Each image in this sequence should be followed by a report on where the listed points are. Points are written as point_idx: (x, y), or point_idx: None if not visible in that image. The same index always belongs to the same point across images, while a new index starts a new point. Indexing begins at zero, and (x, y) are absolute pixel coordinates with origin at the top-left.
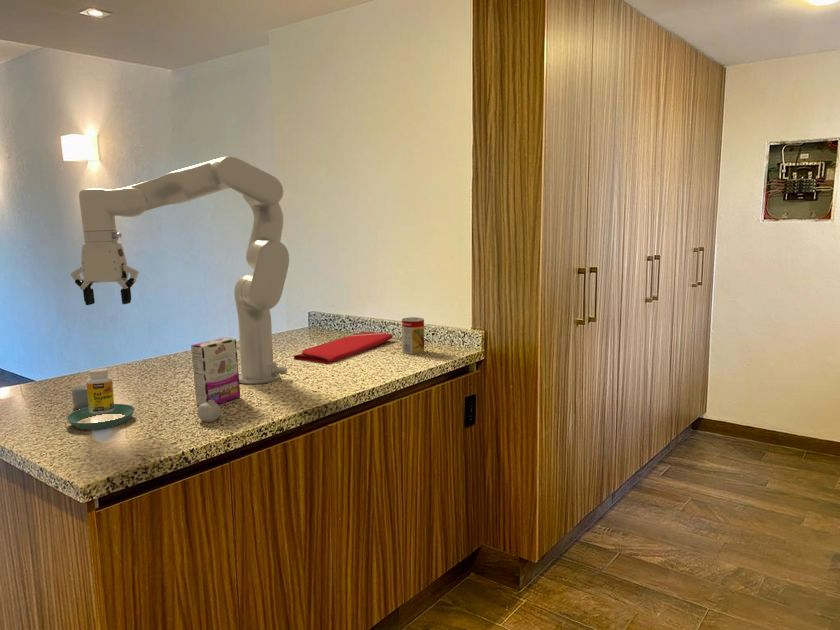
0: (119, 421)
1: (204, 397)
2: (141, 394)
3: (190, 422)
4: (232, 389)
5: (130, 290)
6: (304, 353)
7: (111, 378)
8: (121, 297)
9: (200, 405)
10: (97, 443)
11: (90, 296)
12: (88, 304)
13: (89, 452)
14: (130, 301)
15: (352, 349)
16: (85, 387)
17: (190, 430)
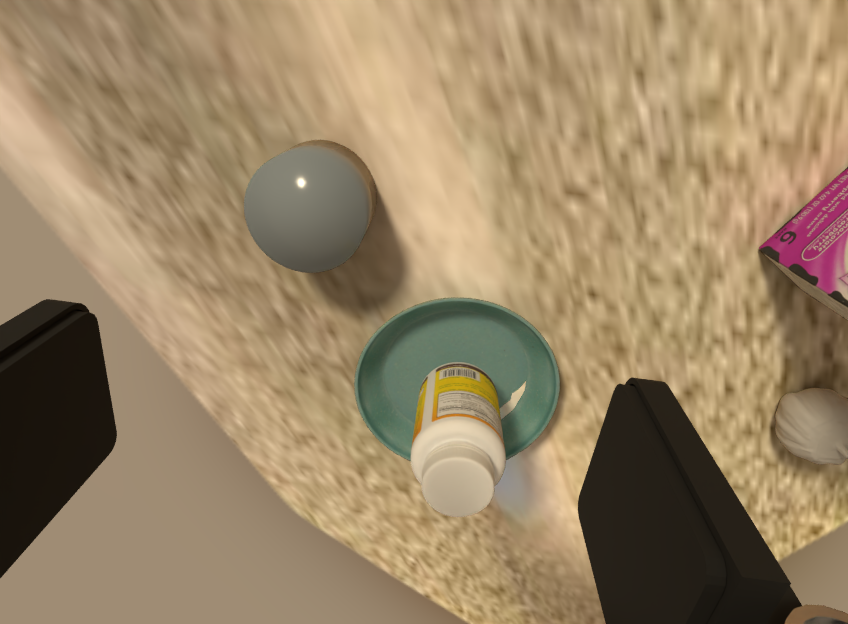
0: (528, 428)
1: (815, 297)
2: (486, 37)
3: (739, 417)
4: None
5: (789, 590)
6: None
7: (504, 456)
8: (597, 588)
9: (806, 451)
10: (511, 525)
11: (28, 460)
12: (112, 442)
13: (513, 567)
14: (664, 388)
15: None
16: (296, 210)
17: (741, 476)
